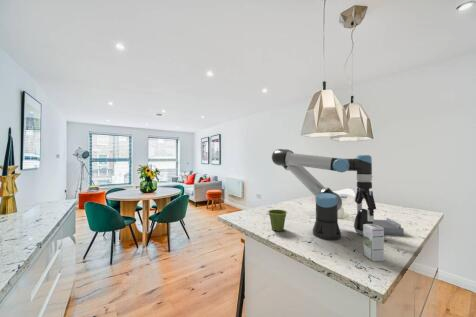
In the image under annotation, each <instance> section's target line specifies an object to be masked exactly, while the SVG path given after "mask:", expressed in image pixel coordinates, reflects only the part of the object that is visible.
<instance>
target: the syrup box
mask: <svg viewBox="0 0 476 317" xmlns="http://www.w3.org/2000/svg"><path fill="white" fill-rule="evenodd" d="M362 237H363V238H362V240H363V242H362V243H363V244H362V245H363V246H362V247H363V252H362V254H363V256H365V257H366V258H368V260H370V261H372V262H384V261H385V238H384V237H385V235H384V228H382V227H380V226H377V225H375V224H363V236H362Z"/></svg>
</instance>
